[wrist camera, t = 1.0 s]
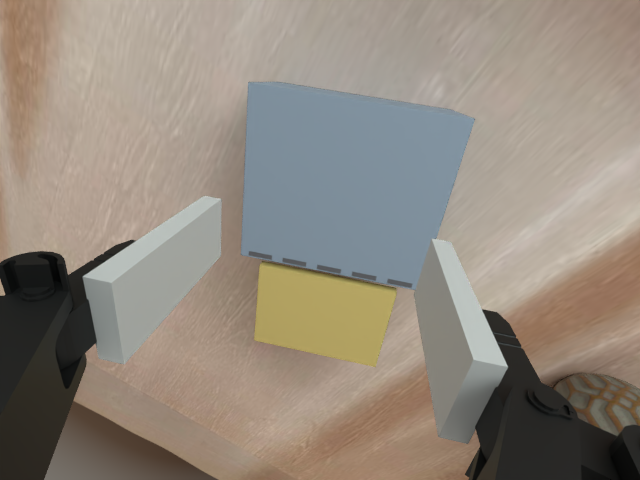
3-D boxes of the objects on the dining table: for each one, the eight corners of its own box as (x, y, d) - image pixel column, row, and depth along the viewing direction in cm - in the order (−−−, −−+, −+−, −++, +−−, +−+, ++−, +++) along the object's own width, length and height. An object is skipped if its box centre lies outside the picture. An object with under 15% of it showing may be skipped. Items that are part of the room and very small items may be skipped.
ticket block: (277, 81, 36) (248, 82, 27) (451, 109, 34) (475, 118, 26) (266, 221, 43) (240, 255, 34) (410, 249, 41) (419, 290, 33)
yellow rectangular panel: (262, 261, 36) (259, 265, 35) (396, 287, 34) (396, 293, 34) (256, 334, 40) (254, 340, 39) (375, 360, 39) (375, 366, 38)
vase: (553, 343, 44) (652, 490, 28) (659, 368, 43) (821, 533, 27) (510, 411, 49) (573, 564, 34) (603, 434, 49) (711, 601, 33)
